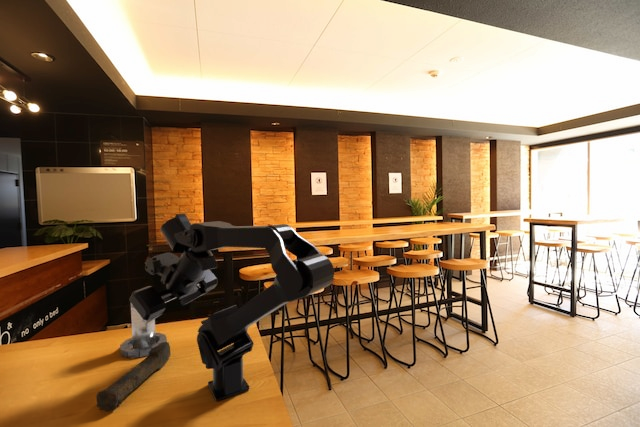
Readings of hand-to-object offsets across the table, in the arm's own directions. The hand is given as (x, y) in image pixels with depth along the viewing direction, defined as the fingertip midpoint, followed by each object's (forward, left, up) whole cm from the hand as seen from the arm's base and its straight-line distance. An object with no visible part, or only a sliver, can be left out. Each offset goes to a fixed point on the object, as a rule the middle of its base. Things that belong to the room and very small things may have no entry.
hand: (165, 311), depth 72 cm
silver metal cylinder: (+8, +4, -11) cm, 14 cm away
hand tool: (-7, +6, -11) cm, 15 cm away
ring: (+8, +4, -11) cm, 14 cm away
